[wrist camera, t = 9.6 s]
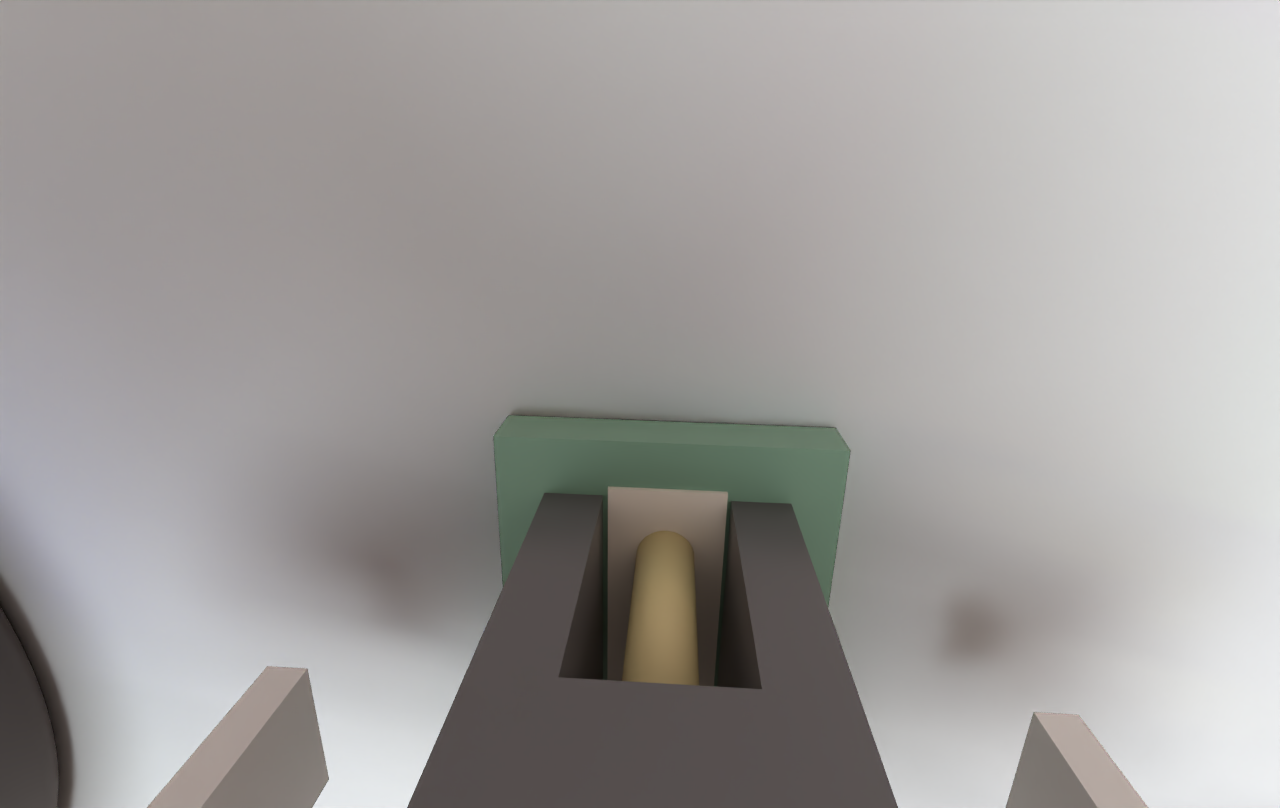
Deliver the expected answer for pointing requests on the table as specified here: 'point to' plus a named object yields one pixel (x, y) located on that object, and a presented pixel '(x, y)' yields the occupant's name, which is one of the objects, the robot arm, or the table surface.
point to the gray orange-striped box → (656, 689)
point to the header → (669, 520)
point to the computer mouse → (24, 731)
